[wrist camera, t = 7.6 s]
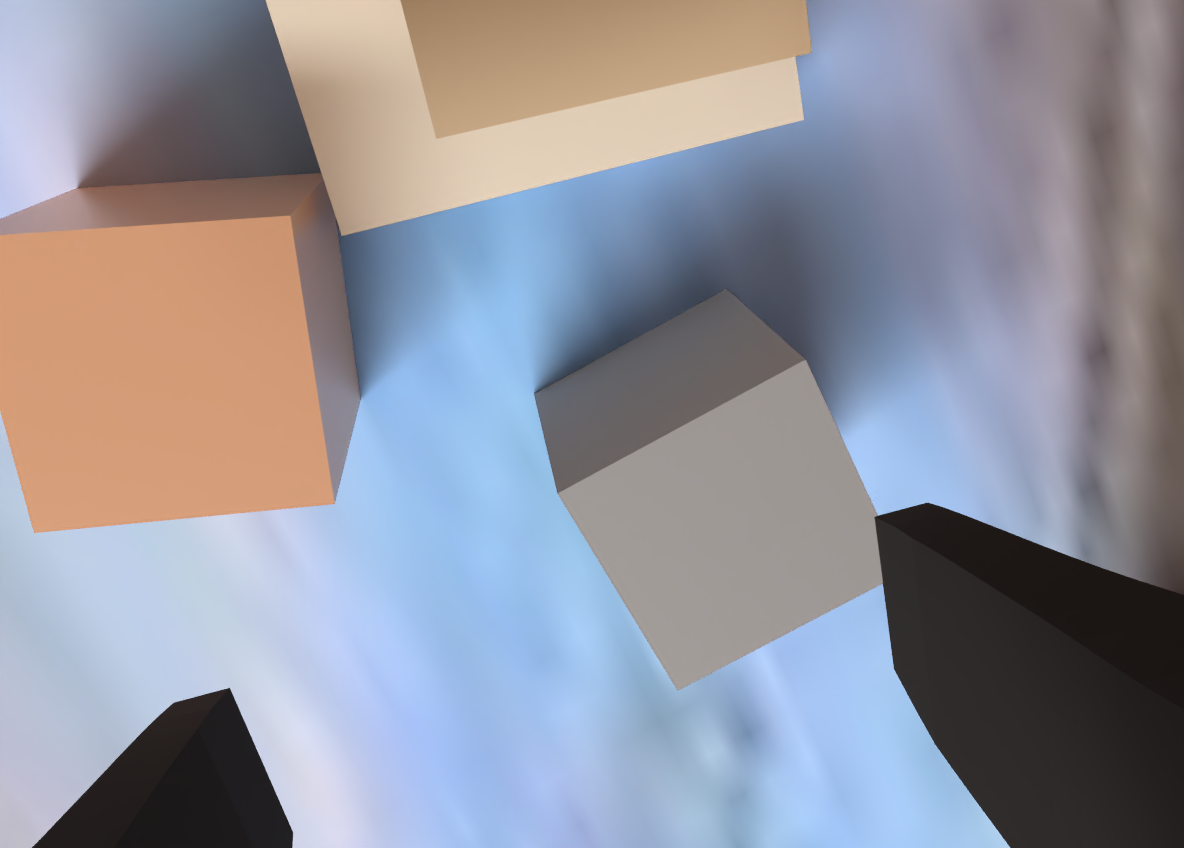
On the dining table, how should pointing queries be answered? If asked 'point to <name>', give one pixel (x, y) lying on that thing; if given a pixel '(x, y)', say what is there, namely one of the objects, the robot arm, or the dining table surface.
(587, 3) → the maple block
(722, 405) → the slate block
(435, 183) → the cream slab
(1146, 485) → the dining table surface
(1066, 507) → the dining table surface
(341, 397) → the terracotta block
